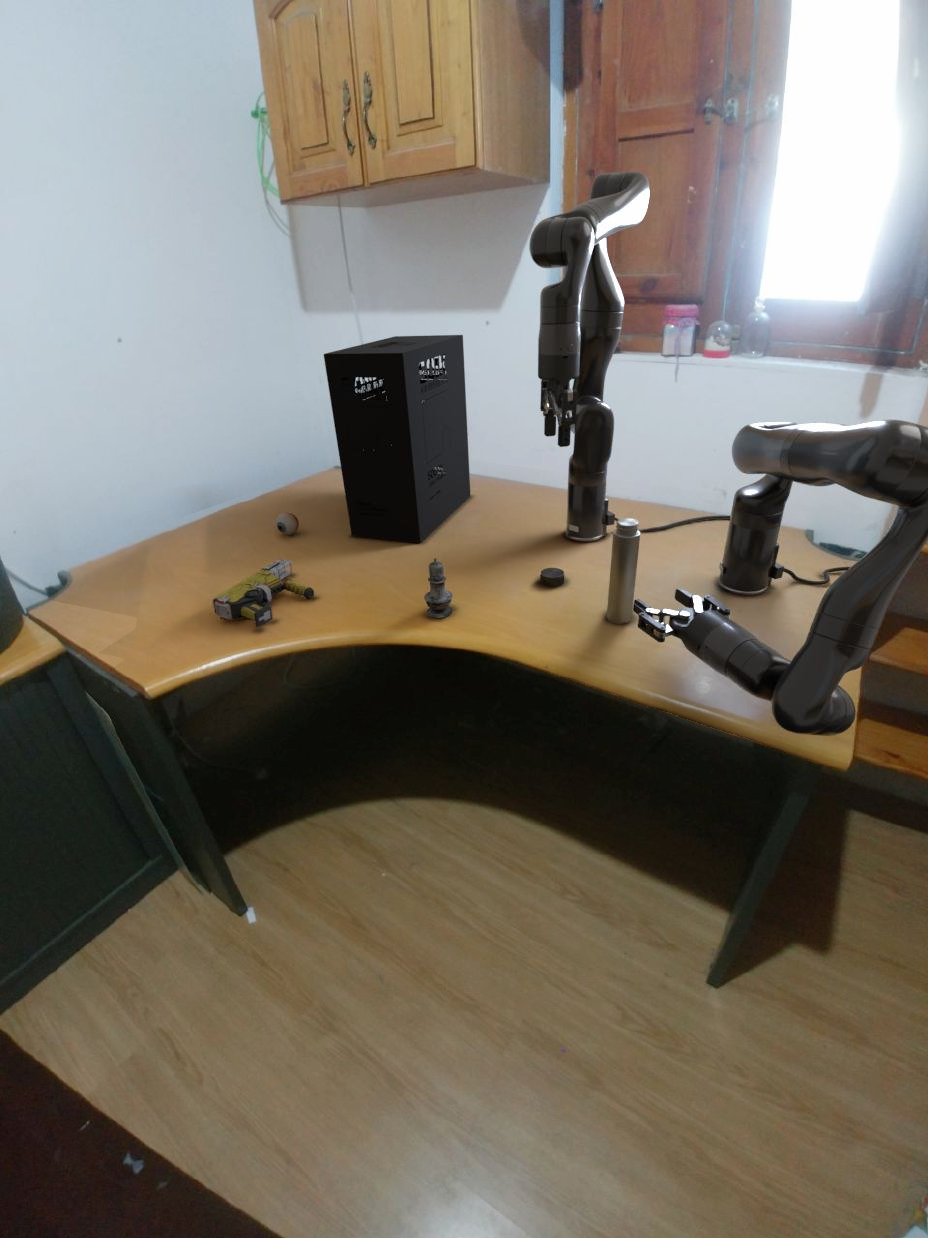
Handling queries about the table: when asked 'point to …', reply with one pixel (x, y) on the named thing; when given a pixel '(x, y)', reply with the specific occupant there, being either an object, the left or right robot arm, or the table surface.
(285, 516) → the eyeball
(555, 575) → the lid
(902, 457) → the right robot arm
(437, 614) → the dark chess piece
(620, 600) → the metal thermos bottle
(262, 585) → the toy gun
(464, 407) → the cardboard box
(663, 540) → the table surface
